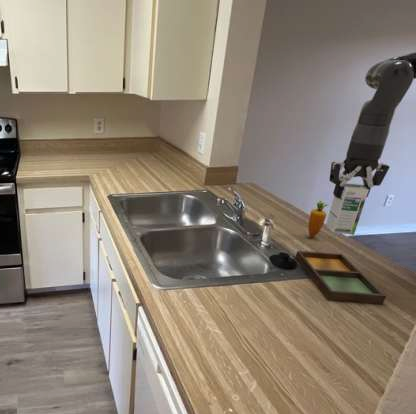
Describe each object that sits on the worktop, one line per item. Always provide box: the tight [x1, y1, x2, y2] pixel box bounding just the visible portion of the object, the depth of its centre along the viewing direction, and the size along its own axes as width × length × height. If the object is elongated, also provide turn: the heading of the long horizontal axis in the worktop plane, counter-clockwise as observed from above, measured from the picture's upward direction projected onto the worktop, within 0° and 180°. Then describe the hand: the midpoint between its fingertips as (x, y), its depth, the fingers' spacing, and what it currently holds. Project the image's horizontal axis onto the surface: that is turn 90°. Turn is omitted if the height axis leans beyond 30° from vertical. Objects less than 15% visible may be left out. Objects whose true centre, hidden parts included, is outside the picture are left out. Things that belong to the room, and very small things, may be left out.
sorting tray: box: [295, 250, 387, 305], centre depth 101 cm, size 14×22×3 cm, turn 172°
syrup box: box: [325, 182, 369, 236], centre depth 98 cm, size 6×6×14 cm
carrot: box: [308, 200, 329, 239], centre depth 122 cm, size 5×5×15 cm
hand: (349, 197), depth 96 cm, fingers closed on syrup box, 6 cm apart
